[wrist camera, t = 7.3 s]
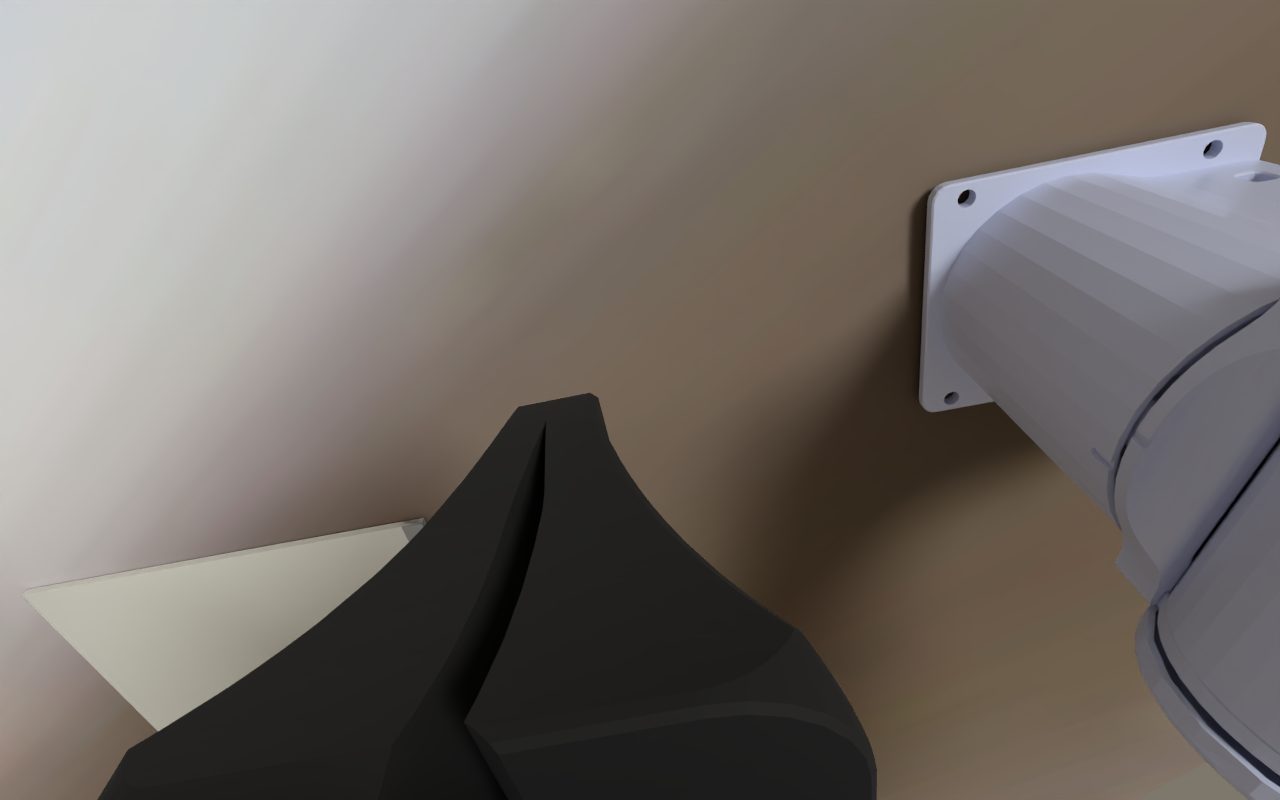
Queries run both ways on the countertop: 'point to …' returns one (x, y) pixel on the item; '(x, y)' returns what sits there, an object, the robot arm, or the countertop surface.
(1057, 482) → the countertop surface
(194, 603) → the mat
